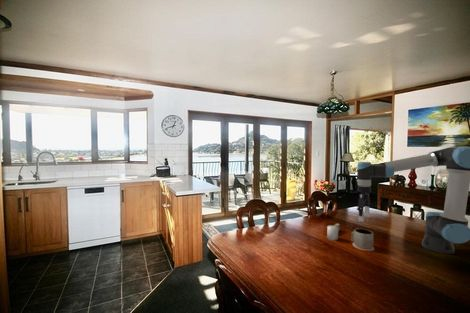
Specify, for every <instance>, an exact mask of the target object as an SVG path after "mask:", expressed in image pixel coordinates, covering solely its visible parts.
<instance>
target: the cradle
mask: <svg viewBox="0 0 470 313" xmlns="http://www.w3.org/2000/svg"><path fill="white" fill-rule="evenodd" d="M332 226H336V227H338V232H339V231H340V223H338V222H337V223H335V224H334V225H332ZM350 240H351V241H352V242H354V230H353V231H352V232H350Z"/></svg>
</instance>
